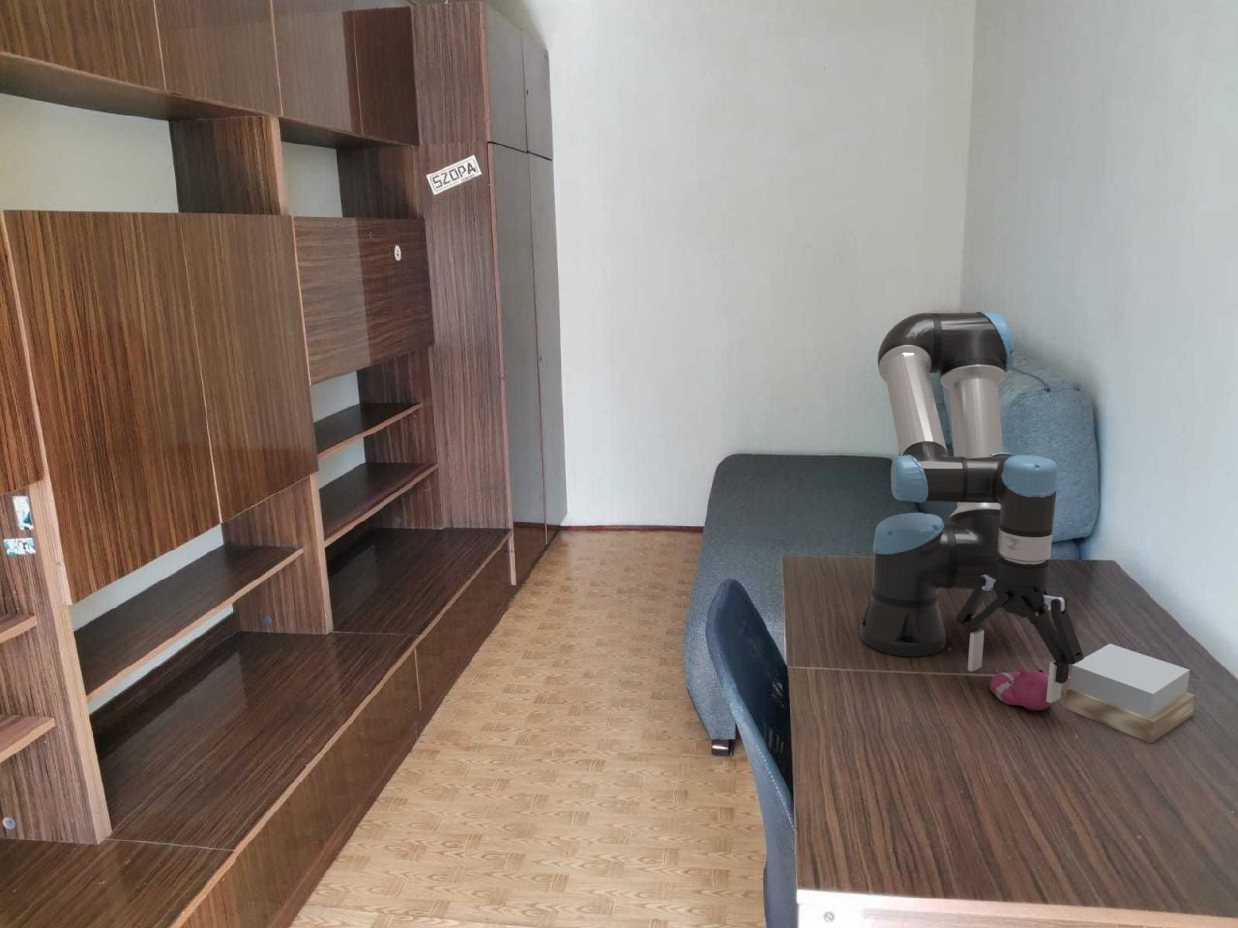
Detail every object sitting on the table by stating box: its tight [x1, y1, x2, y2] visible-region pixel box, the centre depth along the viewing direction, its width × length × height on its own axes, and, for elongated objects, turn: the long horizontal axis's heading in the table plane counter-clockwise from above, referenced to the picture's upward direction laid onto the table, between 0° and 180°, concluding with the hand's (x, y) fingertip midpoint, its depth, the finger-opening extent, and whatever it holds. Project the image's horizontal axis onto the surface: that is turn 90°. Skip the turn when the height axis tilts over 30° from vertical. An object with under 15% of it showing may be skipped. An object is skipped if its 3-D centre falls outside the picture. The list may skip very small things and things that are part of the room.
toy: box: [989, 666, 1054, 711], centre depth 146 cm, size 11×9×10 cm
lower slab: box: [1064, 686, 1196, 744], centre depth 142 cm, size 13×13×4 cm
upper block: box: [1069, 643, 1191, 718], centre depth 141 cm, size 12×12×4 cm
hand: (1012, 683), depth 145 cm, fingers open, 13 cm apart
